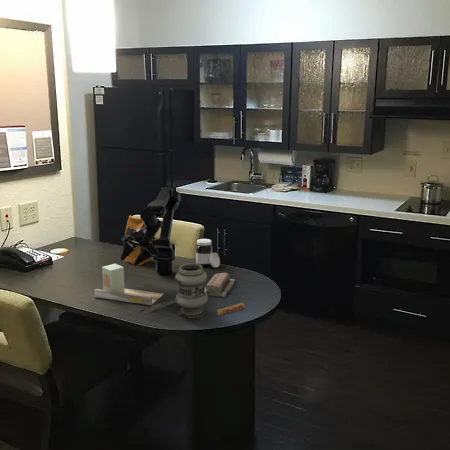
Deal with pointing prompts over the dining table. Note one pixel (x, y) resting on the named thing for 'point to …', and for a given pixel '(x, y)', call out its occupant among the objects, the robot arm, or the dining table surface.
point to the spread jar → (206, 254)
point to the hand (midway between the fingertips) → (127, 262)
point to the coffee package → (135, 225)
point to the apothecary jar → (191, 290)
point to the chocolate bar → (230, 308)
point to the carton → (113, 278)
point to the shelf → (130, 296)
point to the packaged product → (219, 285)
